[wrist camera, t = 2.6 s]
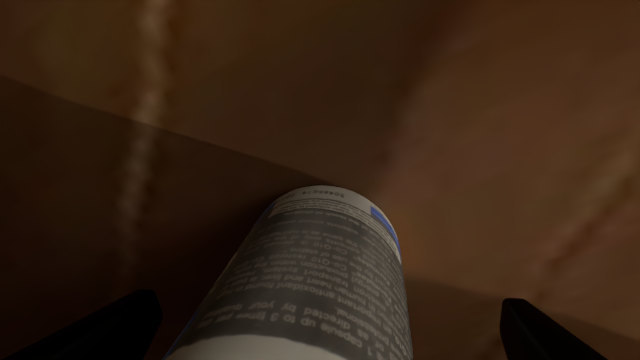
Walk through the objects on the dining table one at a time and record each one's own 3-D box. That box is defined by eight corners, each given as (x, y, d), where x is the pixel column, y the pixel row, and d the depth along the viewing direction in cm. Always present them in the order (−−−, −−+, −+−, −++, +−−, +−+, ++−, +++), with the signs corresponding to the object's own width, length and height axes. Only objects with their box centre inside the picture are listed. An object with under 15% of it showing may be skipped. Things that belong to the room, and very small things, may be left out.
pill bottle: (242, 187, 10) (-136, 574, 3) (394, 175, 10) (476, 708, 2) (271, 307, 12) (86, 764, 4) (403, 306, 11) (469, 887, 3)
